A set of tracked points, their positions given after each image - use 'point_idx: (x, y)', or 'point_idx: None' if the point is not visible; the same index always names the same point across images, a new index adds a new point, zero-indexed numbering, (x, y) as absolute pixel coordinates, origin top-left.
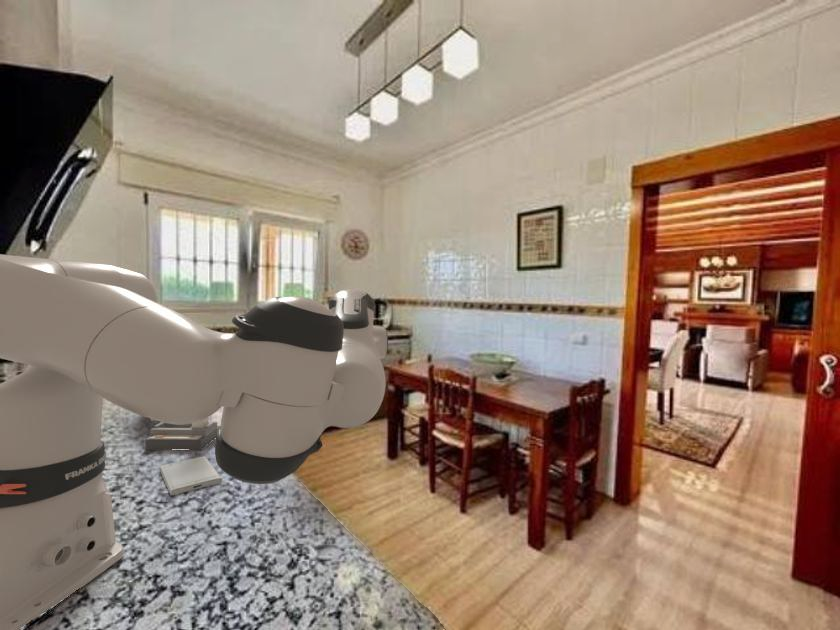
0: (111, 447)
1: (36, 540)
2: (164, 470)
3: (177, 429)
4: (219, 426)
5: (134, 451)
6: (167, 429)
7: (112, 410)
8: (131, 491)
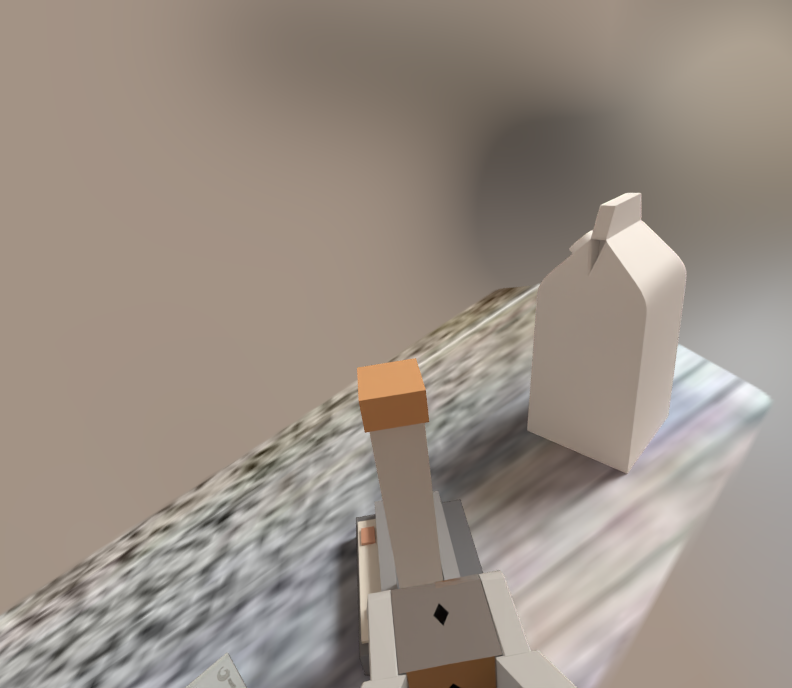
0: (371, 473)
1: None
2: (191, 685)
3: (380, 555)
4: None
5: (352, 521)
6: (377, 534)
7: None
8: (120, 677)
